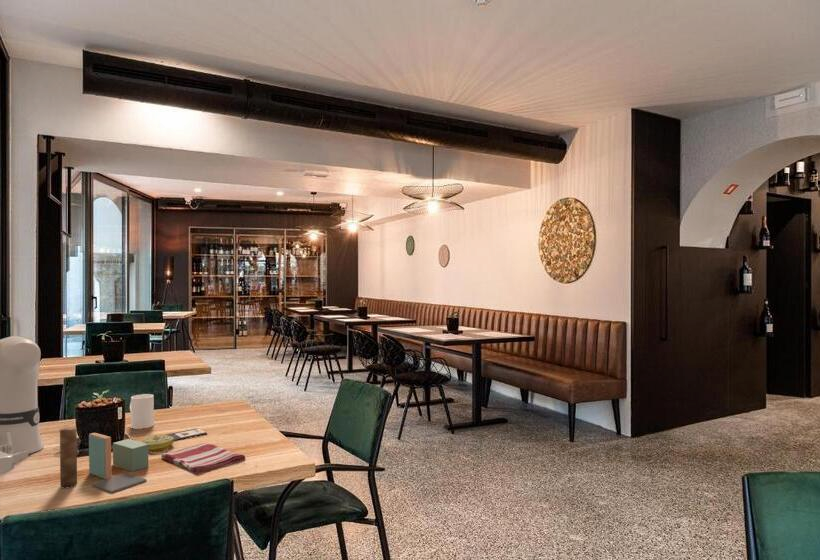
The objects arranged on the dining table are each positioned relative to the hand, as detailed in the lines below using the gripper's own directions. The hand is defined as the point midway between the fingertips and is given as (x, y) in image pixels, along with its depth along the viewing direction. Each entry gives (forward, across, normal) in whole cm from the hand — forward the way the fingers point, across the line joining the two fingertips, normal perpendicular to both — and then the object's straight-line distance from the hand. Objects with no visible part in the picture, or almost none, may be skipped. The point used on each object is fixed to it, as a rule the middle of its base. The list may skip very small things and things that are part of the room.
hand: (18, 450), depth 141 cm
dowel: (+12, -1, -13) cm, 18 cm away
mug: (+58, -42, -14) cm, 73 cm away
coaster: (+21, +11, -14) cm, 27 cm away
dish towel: (+46, +13, -14) cm, 50 cm away
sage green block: (+30, -1, -14) cm, 33 cm away
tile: (+21, -1, -14) cm, 25 cm away
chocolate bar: (+57, -16, -14) cm, 61 cm away
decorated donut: (+45, -10, -14) cm, 49 cm away
